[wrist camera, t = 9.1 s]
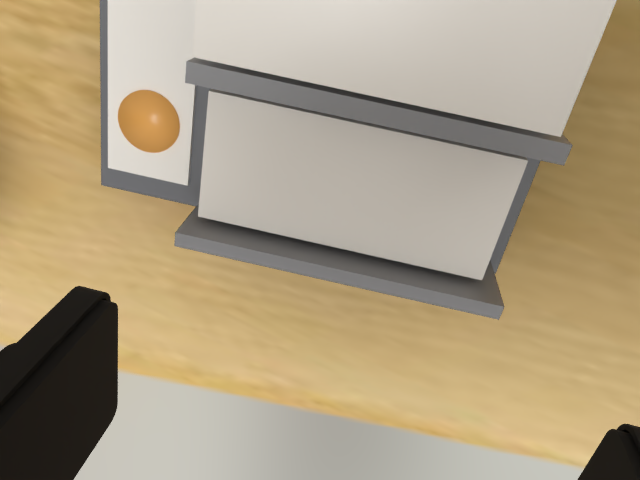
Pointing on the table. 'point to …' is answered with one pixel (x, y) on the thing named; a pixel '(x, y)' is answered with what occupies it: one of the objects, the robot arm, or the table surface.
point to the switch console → (202, 75)
